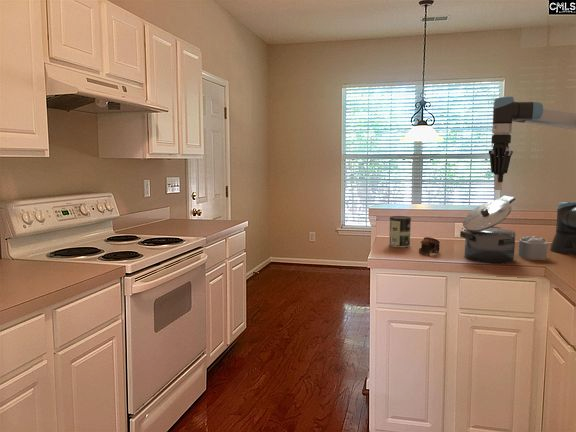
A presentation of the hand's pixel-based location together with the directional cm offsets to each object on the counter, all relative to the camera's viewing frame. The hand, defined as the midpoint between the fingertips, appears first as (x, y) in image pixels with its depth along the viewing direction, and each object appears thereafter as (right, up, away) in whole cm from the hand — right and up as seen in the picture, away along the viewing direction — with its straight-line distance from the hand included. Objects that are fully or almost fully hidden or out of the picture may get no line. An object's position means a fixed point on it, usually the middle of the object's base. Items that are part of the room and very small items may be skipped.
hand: (497, 189), depth 207 cm
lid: (-3, -11, +1) cm, 11 cm away
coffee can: (-35, -26, +31) cm, 54 cm away
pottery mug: (-25, -29, +14) cm, 41 cm away
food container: (+9, -27, +23) cm, 36 cm away
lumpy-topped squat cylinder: (+18, -29, +7) cm, 35 cm away
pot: (-4, -30, +4) cm, 30 cm away
